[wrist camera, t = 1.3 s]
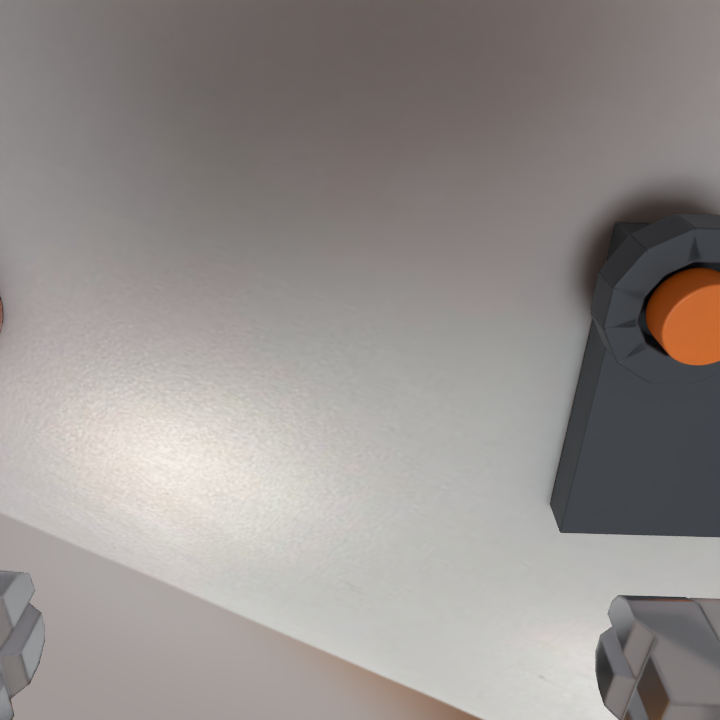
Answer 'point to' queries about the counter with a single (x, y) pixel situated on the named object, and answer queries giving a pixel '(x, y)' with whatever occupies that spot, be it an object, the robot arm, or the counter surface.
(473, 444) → the counter surface
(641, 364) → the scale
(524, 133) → the counter surface
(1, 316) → the cup
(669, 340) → the button
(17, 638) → the robot arm
